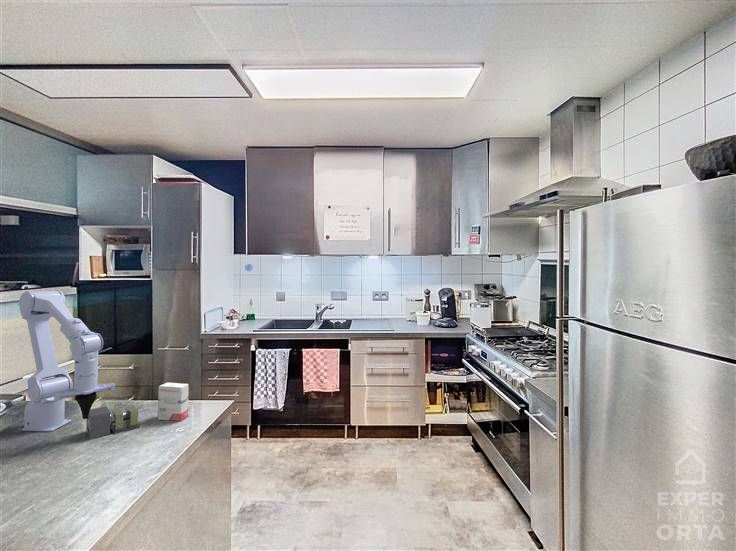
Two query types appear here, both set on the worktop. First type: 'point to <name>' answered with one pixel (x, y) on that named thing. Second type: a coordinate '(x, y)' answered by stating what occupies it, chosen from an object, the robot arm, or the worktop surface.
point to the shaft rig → (123, 420)
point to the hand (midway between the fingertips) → (85, 418)
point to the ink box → (173, 401)
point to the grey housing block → (98, 422)
